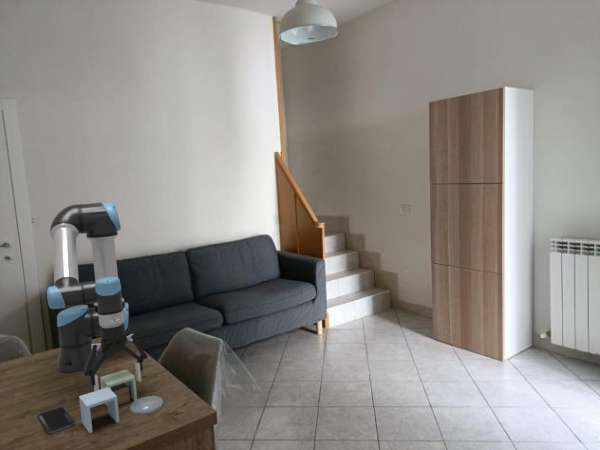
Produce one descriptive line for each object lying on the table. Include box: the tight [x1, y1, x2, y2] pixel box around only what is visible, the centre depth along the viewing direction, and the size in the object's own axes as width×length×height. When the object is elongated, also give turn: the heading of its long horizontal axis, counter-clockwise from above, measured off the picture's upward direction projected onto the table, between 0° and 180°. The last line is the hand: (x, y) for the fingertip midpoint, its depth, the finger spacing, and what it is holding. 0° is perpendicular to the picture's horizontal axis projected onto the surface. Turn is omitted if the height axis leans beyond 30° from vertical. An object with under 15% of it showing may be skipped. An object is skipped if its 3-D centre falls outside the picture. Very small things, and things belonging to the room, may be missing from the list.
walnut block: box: [111, 383, 131, 406], centre depth 154 cm, size 5×5×5 cm
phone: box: [37, 406, 76, 436], centre depth 143 cm, size 8×1×15 cm
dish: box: [129, 395, 164, 416], centre depth 149 cm, size 10×10×1 cm
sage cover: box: [99, 368, 138, 406], centre depth 154 cm, size 9×9×8 cm
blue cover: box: [78, 387, 121, 434], centre depth 141 cm, size 9×9×8 cm
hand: (118, 387), depth 154 cm, fingers open, 13 cm apart
